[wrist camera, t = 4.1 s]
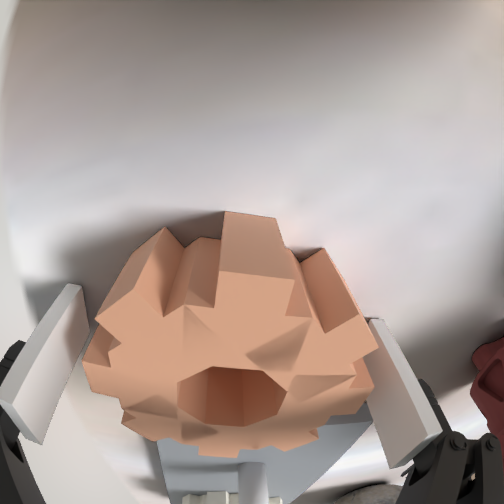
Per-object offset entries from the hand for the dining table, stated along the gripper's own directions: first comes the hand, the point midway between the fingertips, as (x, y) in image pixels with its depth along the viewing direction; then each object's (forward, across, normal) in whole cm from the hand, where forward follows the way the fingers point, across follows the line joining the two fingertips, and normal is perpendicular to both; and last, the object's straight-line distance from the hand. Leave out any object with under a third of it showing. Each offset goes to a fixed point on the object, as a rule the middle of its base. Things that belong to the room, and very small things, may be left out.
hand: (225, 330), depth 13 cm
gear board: (0, +3, -18) cm, 18 cm away
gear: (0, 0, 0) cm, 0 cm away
